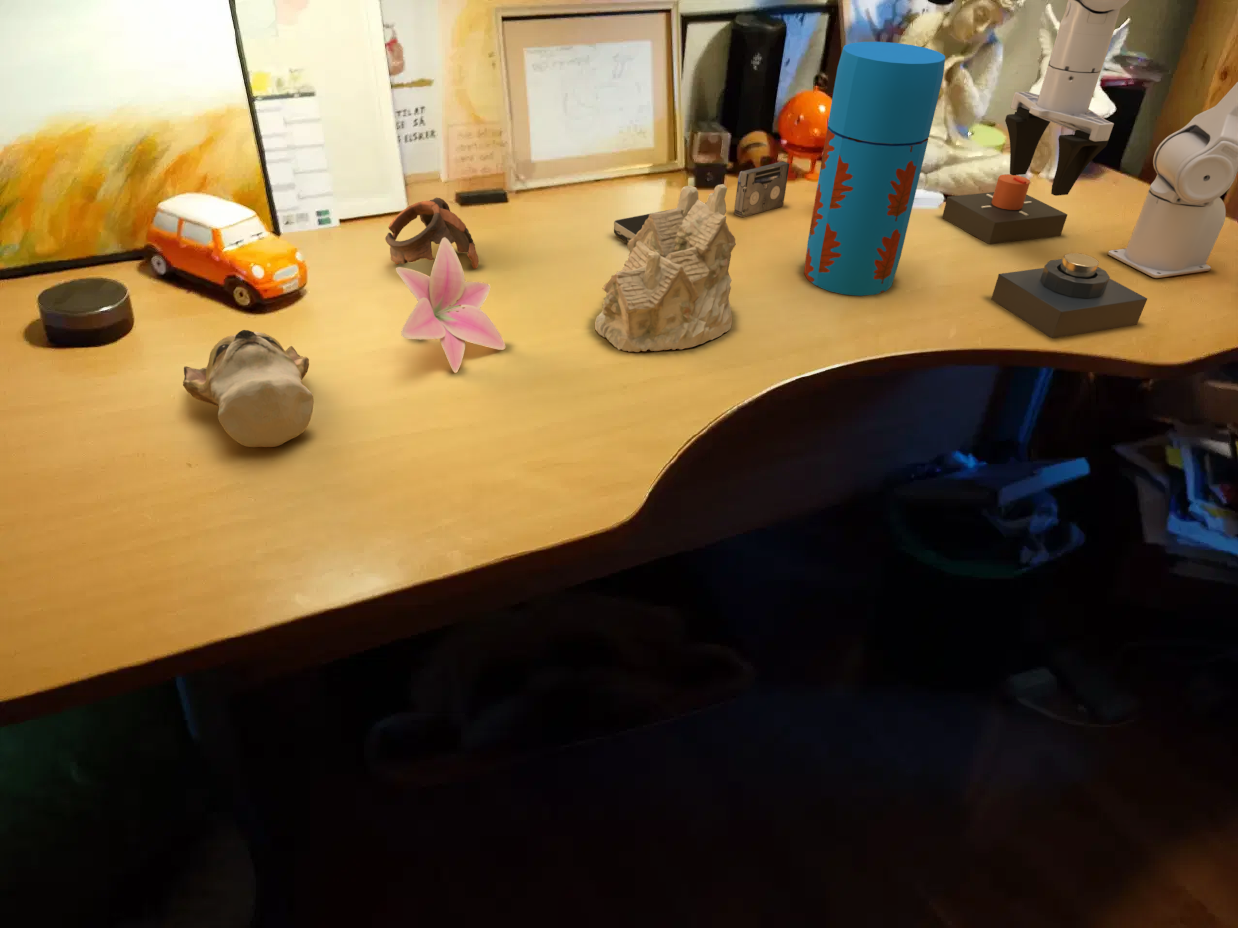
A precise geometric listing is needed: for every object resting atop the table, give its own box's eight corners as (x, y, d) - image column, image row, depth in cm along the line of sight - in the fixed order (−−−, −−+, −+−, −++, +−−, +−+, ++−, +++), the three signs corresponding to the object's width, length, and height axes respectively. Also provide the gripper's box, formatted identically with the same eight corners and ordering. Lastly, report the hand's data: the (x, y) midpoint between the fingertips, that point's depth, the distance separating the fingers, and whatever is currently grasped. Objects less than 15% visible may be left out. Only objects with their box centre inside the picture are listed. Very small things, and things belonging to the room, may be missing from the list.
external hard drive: (611, 236, 116) (612, 220, 115) (681, 221, 121) (683, 207, 120) (641, 255, 111) (642, 239, 110) (713, 239, 116) (714, 224, 115)
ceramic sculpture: (187, 379, 66) (160, 308, 77) (213, 478, 71) (184, 398, 82) (332, 350, 71) (287, 287, 82) (348, 444, 76) (303, 373, 87)
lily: (386, 393, 85) (422, 324, 79) (353, 301, 90) (385, 229, 84) (496, 395, 92) (537, 332, 86) (460, 310, 97) (497, 244, 91)
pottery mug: (485, 282, 104) (446, 229, 98) (414, 312, 106) (372, 262, 100) (484, 219, 111) (449, 166, 105) (418, 248, 114) (380, 198, 108)
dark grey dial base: (1010, 210, 130) (1017, 188, 128) (1060, 236, 122) (1068, 213, 121) (941, 217, 126) (947, 195, 124) (988, 244, 119) (995, 221, 117)
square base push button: (1071, 287, 109) (1086, 248, 106) (1136, 324, 101) (1154, 283, 98) (990, 299, 105) (1003, 258, 102) (1051, 338, 97) (1067, 296, 94)
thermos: (887, 262, 112) (937, 45, 98) (900, 299, 104) (957, 67, 89) (799, 255, 113) (835, 38, 98) (805, 292, 104) (846, 60, 90)
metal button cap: (1076, 266, 102) (1082, 251, 101) (1100, 279, 99) (1106, 264, 98) (1051, 269, 101) (1056, 254, 100) (1075, 282, 98) (1080, 267, 97)
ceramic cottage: (688, 273, 107) (694, 146, 97) (756, 340, 95) (771, 204, 86) (564, 298, 102) (557, 168, 93) (619, 372, 90) (619, 232, 81)
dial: (985, 201, 123) (992, 173, 121) (1008, 198, 125) (1016, 171, 122) (1004, 211, 120) (1013, 183, 118) (1028, 208, 122) (1037, 180, 119)
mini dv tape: (775, 203, 128) (781, 160, 125) (783, 206, 127) (789, 163, 124) (733, 214, 124) (739, 170, 121) (741, 217, 123) (747, 173, 120)
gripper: (1004, 55, 109) (974, 167, 117) (1093, 84, 98) (1052, 206, 106) (1051, 53, 111) (1018, 164, 119) (1143, 81, 100) (1100, 201, 108)
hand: (1038, 184), depth 113 cm, fingers open, 7 cm apart
